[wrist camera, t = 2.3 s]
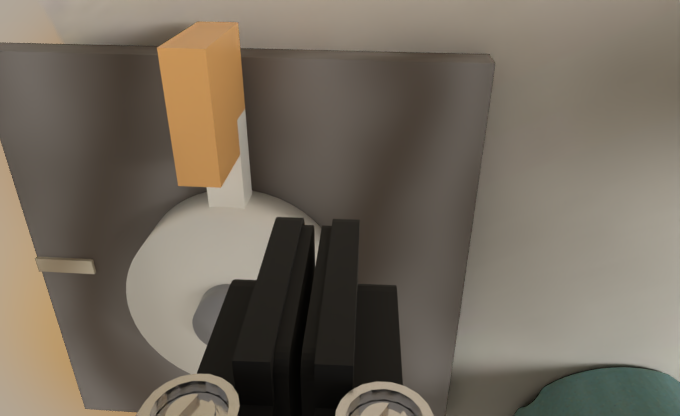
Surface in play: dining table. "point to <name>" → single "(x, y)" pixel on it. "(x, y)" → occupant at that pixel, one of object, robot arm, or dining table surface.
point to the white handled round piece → (202, 200)
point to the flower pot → (608, 394)
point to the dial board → (266, 177)
